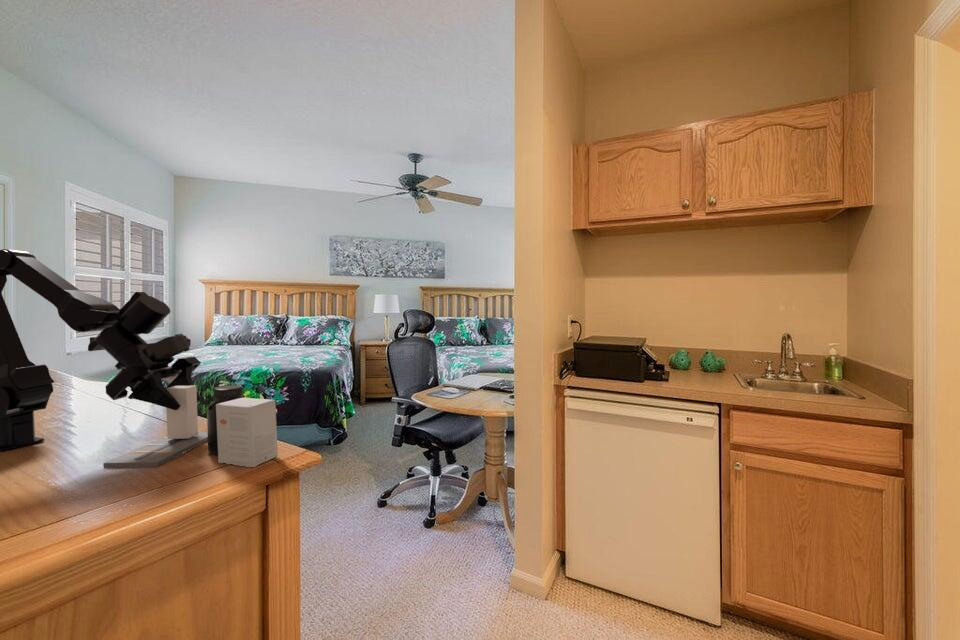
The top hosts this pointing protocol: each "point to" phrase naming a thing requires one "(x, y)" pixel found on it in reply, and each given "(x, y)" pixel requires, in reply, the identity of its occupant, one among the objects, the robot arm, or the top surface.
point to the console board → (157, 452)
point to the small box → (246, 431)
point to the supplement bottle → (220, 396)
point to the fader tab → (183, 413)
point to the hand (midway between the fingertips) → (188, 404)
